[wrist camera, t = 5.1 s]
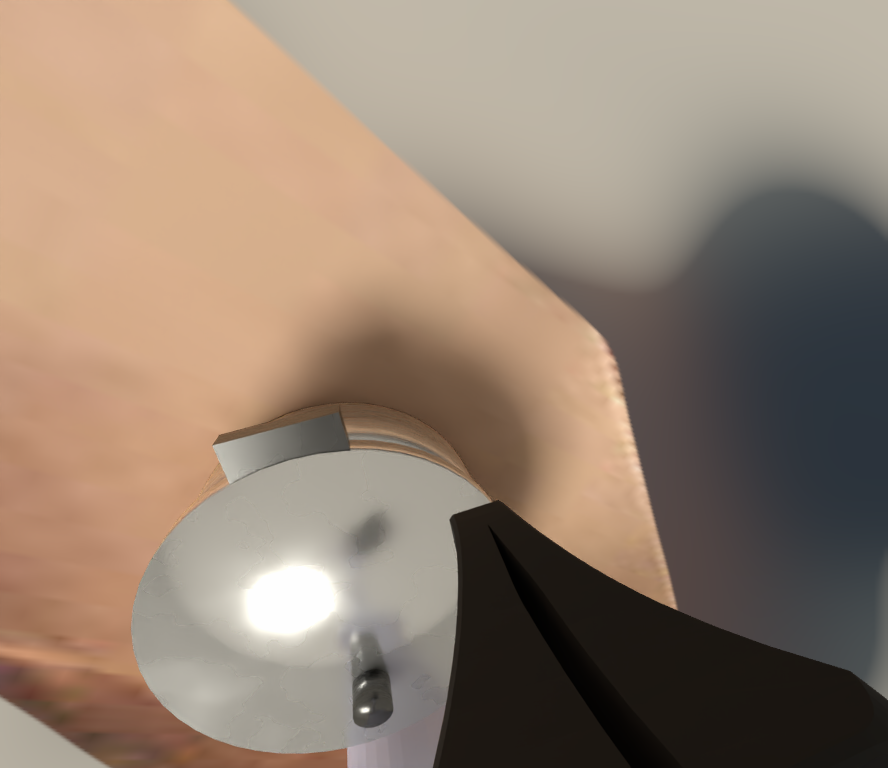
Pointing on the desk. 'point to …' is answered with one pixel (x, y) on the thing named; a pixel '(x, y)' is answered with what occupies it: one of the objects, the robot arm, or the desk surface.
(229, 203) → the desk surface
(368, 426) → the pot
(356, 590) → the lid
